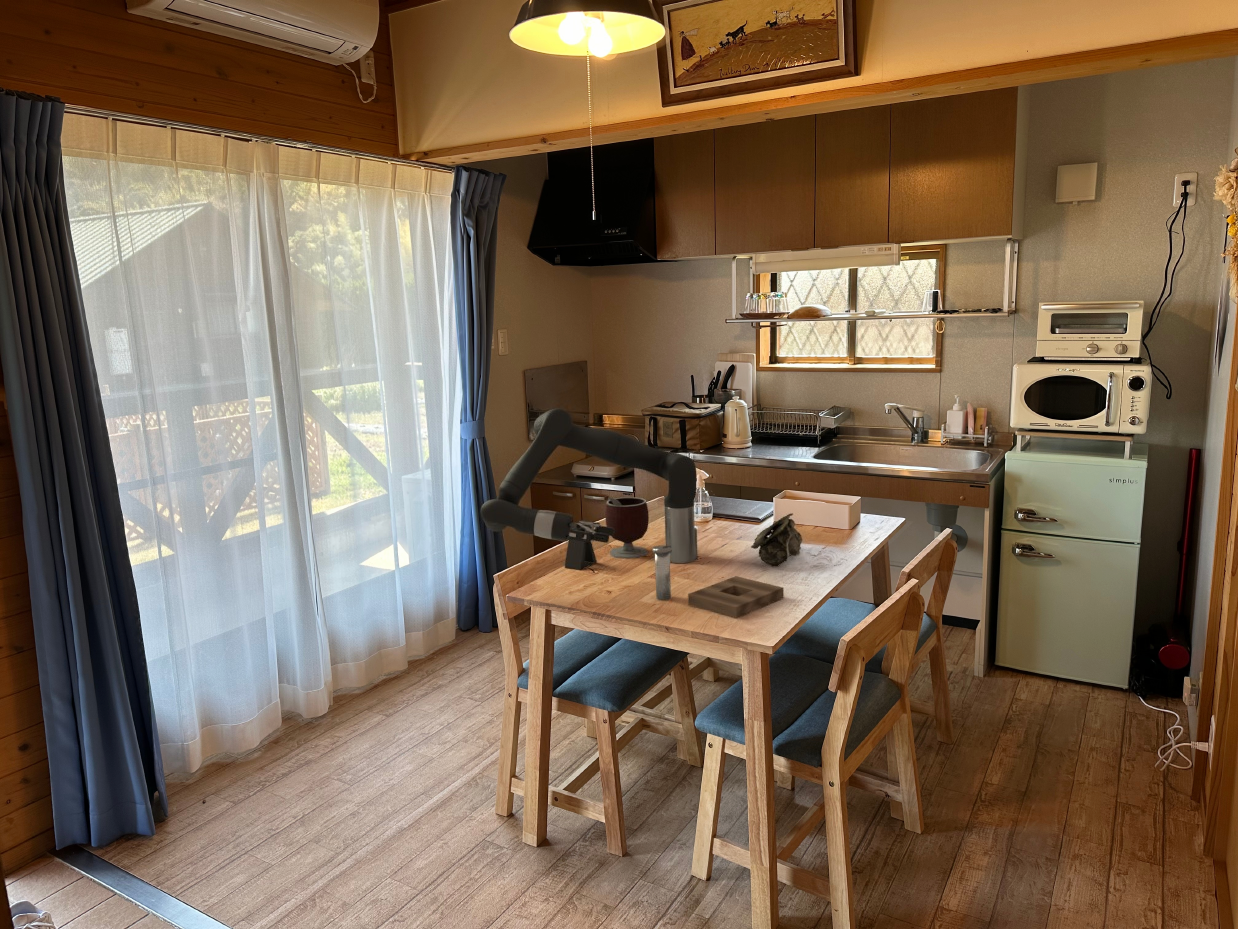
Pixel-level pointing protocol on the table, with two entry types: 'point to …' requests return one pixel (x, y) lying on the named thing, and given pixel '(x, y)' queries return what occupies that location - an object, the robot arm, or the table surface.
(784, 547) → the camouflage backpack
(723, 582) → the socket plate
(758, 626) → the table surface
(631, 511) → the mate gourd
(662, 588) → the steel pin
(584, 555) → the phone stand
